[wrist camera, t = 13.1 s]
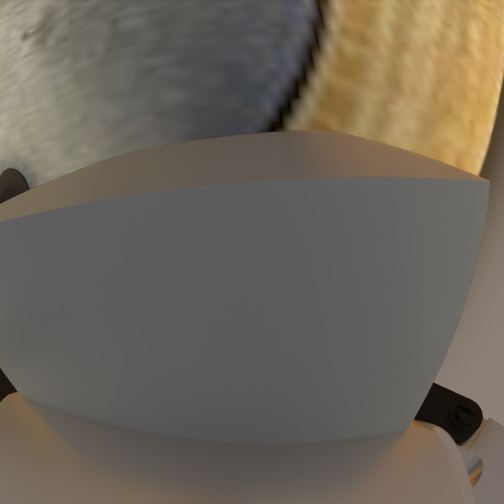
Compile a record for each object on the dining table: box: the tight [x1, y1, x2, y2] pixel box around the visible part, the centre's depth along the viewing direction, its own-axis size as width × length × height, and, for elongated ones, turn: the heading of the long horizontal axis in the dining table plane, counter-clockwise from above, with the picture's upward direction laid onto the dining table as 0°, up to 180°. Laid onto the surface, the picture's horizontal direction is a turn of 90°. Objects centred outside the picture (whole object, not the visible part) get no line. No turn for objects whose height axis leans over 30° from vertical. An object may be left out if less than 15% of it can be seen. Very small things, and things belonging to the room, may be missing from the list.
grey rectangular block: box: [0, 130, 490, 444], centre depth 9 cm, size 13×8×9 cm, turn 6°
